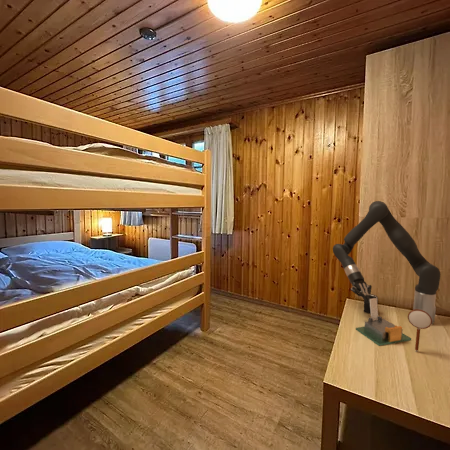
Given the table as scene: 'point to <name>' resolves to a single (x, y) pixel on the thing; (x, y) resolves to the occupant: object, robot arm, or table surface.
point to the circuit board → (382, 332)
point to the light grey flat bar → (374, 309)
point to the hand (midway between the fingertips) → (369, 302)
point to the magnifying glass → (419, 322)
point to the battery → (367, 306)
